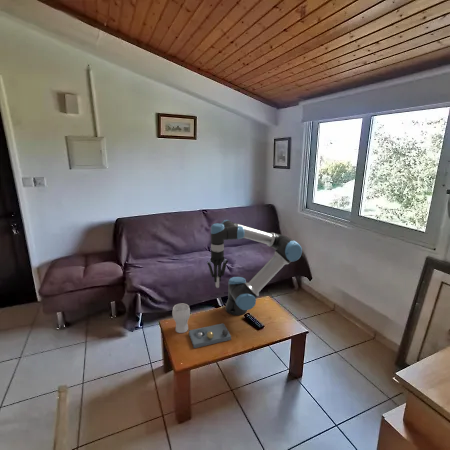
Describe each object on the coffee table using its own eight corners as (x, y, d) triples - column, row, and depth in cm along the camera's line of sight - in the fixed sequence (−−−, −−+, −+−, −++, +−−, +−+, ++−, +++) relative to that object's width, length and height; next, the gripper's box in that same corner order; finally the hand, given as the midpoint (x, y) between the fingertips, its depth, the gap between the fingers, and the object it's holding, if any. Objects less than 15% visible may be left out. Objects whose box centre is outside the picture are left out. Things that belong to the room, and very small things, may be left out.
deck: (223, 326, 173) (223, 323, 172) (231, 339, 161) (231, 336, 161) (188, 334, 166) (188, 330, 165) (194, 348, 154) (193, 344, 153)
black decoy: (226, 332, 164) (226, 327, 163) (228, 336, 160) (228, 331, 160) (221, 333, 162) (221, 328, 162) (223, 337, 159) (223, 332, 158)
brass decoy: (212, 335, 161) (212, 329, 160) (214, 339, 158) (214, 333, 156) (205, 336, 160) (205, 330, 159) (207, 341, 156) (207, 335, 155)
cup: (187, 335, 164) (186, 313, 160) (170, 333, 166) (169, 311, 162) (192, 325, 174) (192, 303, 170) (176, 322, 176) (175, 301, 172)
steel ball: (201, 336, 165) (202, 331, 164) (203, 339, 161) (204, 334, 161) (196, 336, 163) (197, 330, 163) (197, 339, 160) (198, 334, 160)
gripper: (225, 246, 168) (225, 282, 174) (204, 249, 163) (205, 285, 170) (230, 250, 161) (229, 287, 167) (208, 253, 156) (208, 291, 163)
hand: (217, 286), depth 168 cm, fingers closed
